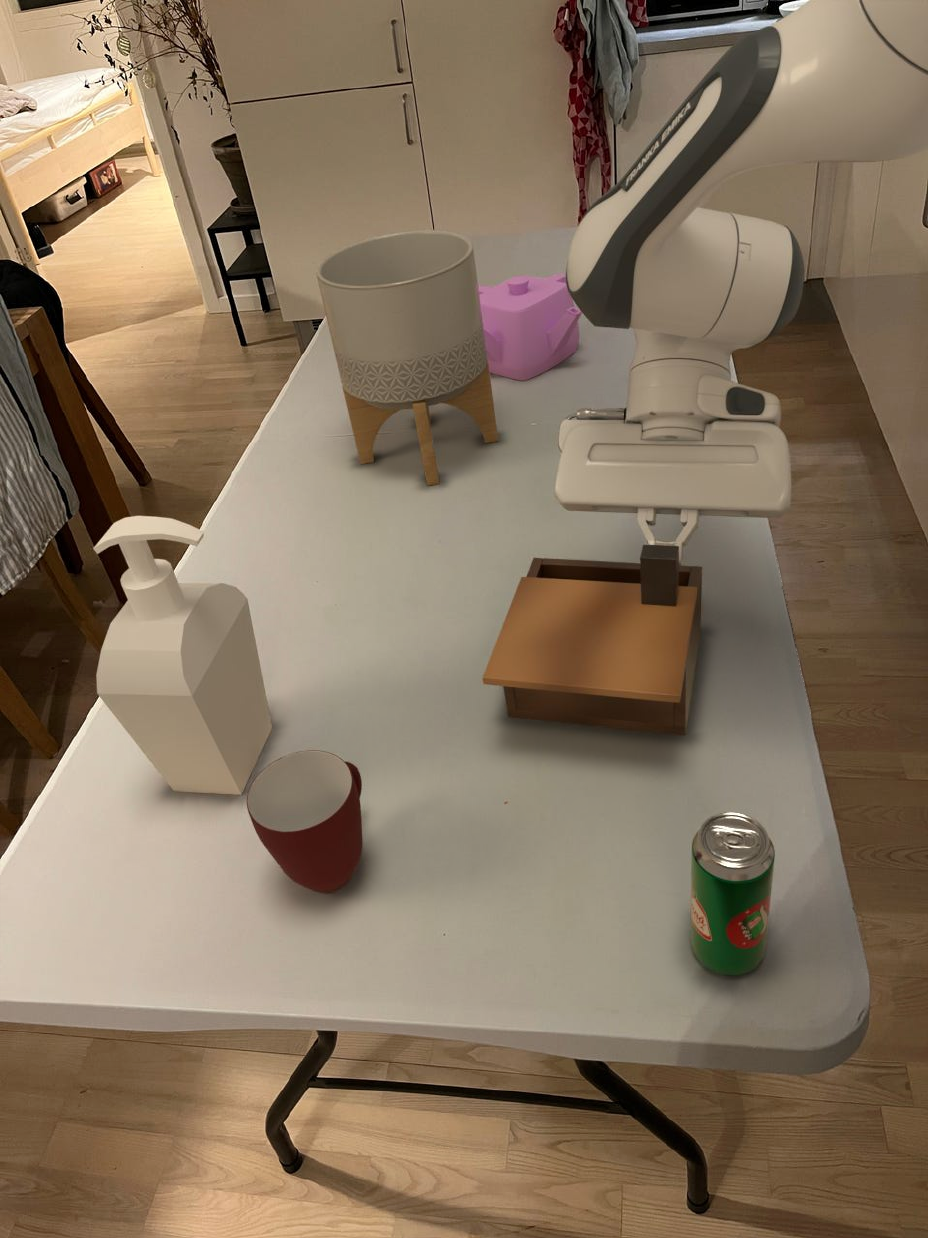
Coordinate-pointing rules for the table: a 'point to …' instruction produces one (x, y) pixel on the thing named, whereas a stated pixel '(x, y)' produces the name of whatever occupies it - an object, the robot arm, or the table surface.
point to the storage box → (608, 707)
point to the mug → (310, 817)
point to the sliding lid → (599, 634)
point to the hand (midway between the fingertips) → (664, 563)
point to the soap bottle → (183, 666)
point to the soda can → (731, 892)
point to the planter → (408, 333)
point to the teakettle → (528, 325)
